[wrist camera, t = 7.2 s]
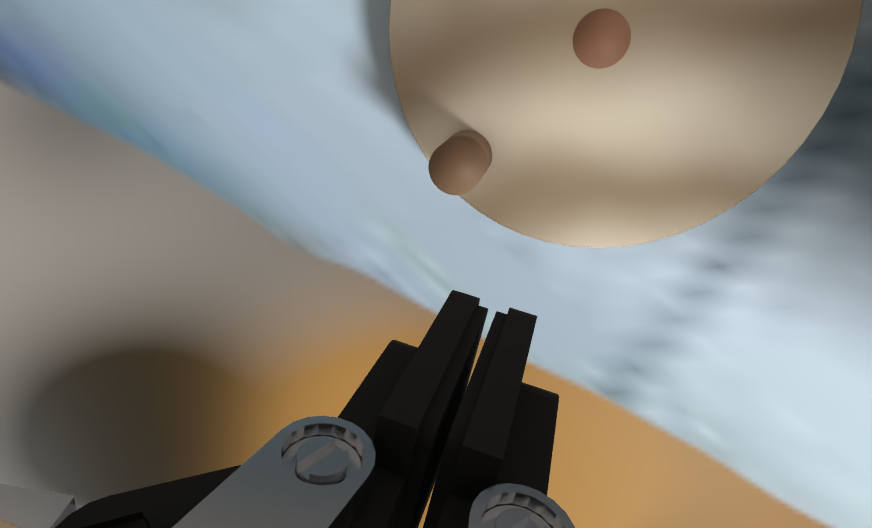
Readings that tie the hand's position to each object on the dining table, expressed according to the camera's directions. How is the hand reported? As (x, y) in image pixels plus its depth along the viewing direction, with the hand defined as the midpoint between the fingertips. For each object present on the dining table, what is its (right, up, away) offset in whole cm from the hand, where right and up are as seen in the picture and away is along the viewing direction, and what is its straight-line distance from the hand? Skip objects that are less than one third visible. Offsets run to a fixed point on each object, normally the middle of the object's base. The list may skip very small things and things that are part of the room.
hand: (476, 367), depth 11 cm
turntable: (+6, +11, +11) cm, 16 cm away
